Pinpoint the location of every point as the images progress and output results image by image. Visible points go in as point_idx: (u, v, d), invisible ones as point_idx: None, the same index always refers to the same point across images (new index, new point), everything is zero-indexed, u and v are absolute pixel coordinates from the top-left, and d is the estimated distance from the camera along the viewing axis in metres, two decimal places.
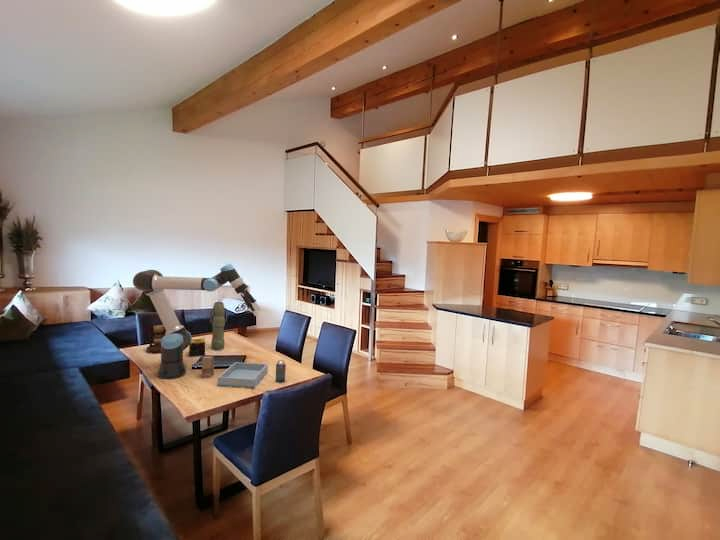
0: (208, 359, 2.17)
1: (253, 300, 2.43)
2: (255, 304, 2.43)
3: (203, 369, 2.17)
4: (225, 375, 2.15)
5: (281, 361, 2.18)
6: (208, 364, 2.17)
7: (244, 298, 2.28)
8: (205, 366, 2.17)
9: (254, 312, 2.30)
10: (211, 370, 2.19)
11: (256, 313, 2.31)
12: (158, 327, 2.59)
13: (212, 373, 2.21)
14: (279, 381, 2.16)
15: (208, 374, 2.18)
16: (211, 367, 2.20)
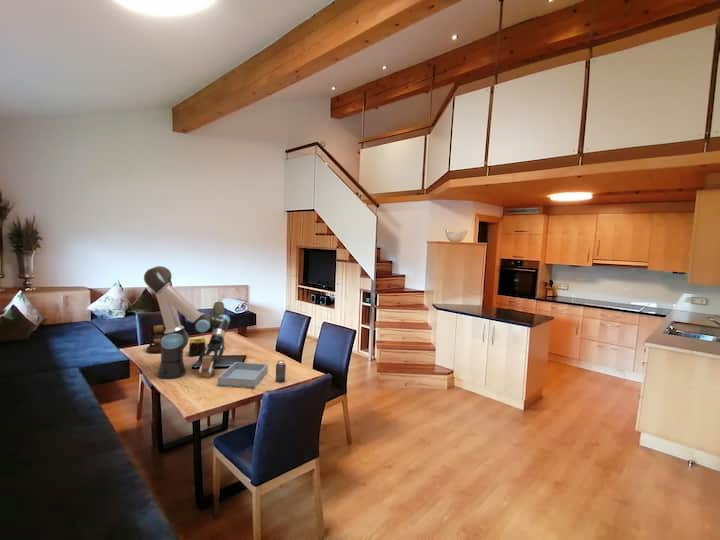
0: (208, 359, 2.17)
1: None
2: None
3: (203, 369, 2.17)
4: (225, 375, 2.15)
5: (281, 361, 2.18)
6: (208, 364, 2.17)
7: (222, 352, 2.24)
8: (205, 366, 2.17)
9: (211, 368, 2.17)
10: None
11: (211, 371, 2.17)
12: (158, 327, 2.59)
13: (212, 373, 2.21)
14: (279, 381, 2.16)
15: (208, 374, 2.18)
16: None
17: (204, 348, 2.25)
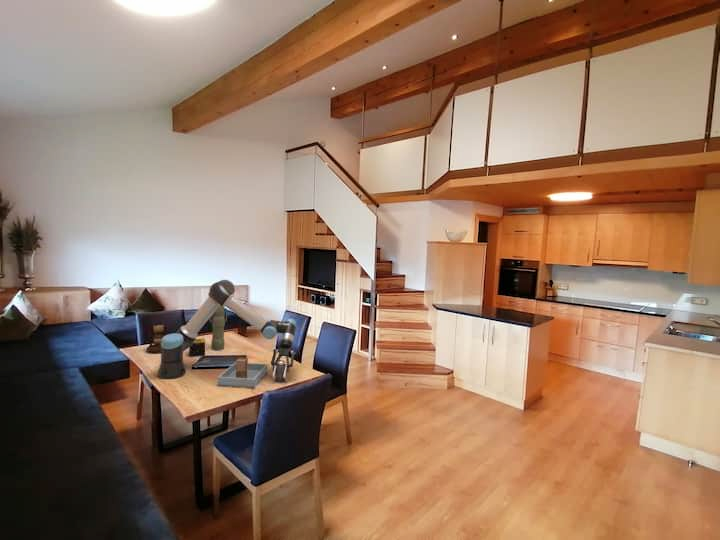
0: (242, 362, 2.12)
1: None
2: None
3: (237, 372, 2.13)
4: (225, 375, 2.15)
5: (281, 361, 2.18)
6: (242, 367, 2.12)
7: (293, 356, 2.23)
8: (239, 369, 2.13)
9: (285, 373, 2.16)
10: (245, 373, 2.14)
11: (285, 376, 2.16)
12: (158, 327, 2.59)
13: (246, 377, 2.16)
14: (279, 381, 2.16)
15: (242, 377, 2.13)
16: (245, 370, 2.15)
17: (275, 353, 2.24)
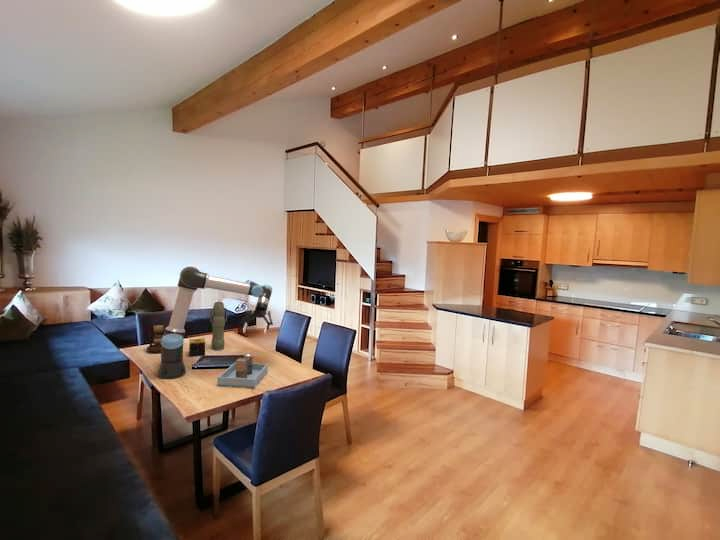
0: (242, 362, 2.12)
1: None
2: (246, 325, 2.38)
3: (237, 372, 2.13)
4: (225, 375, 2.15)
5: (248, 354, 2.24)
6: (242, 367, 2.12)
7: (270, 316, 2.42)
8: (239, 369, 2.13)
9: (266, 330, 2.35)
10: (245, 373, 2.14)
11: (265, 332, 2.35)
12: (158, 327, 2.59)
13: (246, 377, 2.16)
14: None
15: (242, 377, 2.13)
16: (245, 370, 2.15)
17: (250, 313, 2.42)
